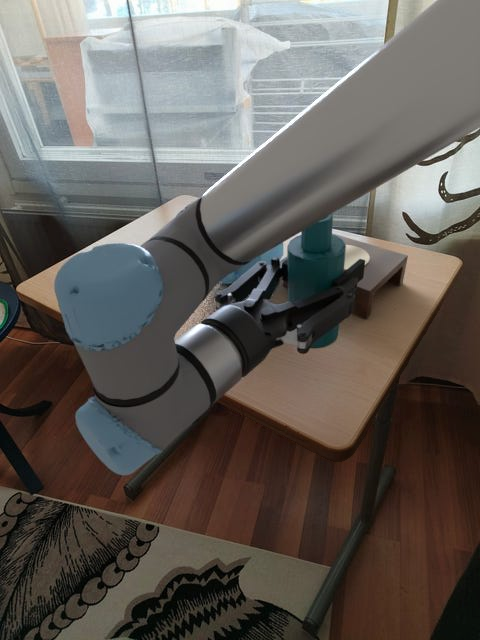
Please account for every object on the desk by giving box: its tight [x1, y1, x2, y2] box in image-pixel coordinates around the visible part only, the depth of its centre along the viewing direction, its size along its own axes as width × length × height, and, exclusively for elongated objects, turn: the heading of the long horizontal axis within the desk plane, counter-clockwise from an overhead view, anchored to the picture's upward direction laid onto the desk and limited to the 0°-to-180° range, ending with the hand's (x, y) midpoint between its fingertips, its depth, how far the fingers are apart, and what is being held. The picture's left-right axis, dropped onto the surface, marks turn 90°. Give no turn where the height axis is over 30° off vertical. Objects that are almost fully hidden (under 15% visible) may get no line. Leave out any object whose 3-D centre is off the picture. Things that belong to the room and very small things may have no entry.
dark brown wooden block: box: [282, 232, 409, 320], centre depth 80 cm, size 18×14×6 cm
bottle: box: [286, 213, 346, 350], centre depth 55 cm, size 7×7×18 cm
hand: (335, 260), depth 58 cm, fingers closed on bottle, 7 cm apart
